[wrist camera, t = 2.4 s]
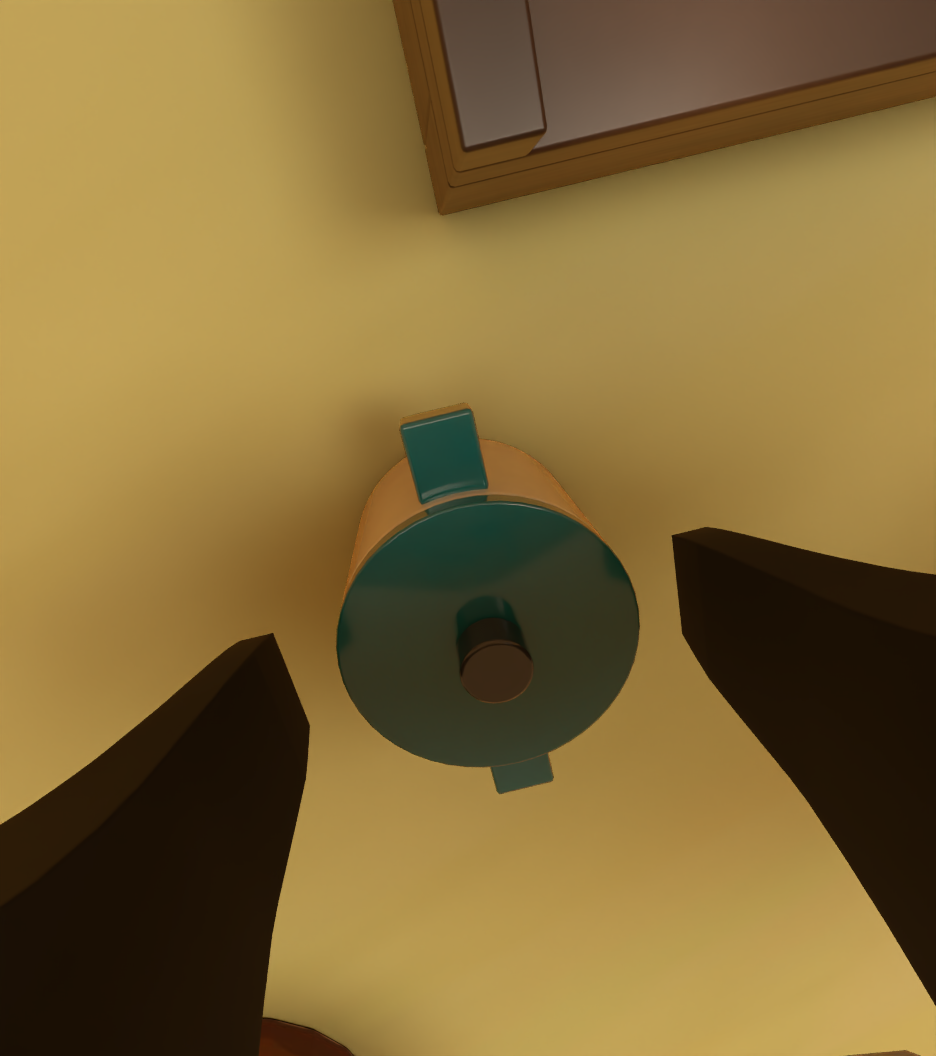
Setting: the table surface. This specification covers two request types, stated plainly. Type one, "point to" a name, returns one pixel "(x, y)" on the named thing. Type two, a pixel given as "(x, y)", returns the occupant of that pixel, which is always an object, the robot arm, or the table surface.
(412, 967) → the table surface
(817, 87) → the shelf
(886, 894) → the robot arm
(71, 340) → the table surface
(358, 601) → the pot
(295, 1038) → the food container
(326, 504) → the table surface
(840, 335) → the table surface
